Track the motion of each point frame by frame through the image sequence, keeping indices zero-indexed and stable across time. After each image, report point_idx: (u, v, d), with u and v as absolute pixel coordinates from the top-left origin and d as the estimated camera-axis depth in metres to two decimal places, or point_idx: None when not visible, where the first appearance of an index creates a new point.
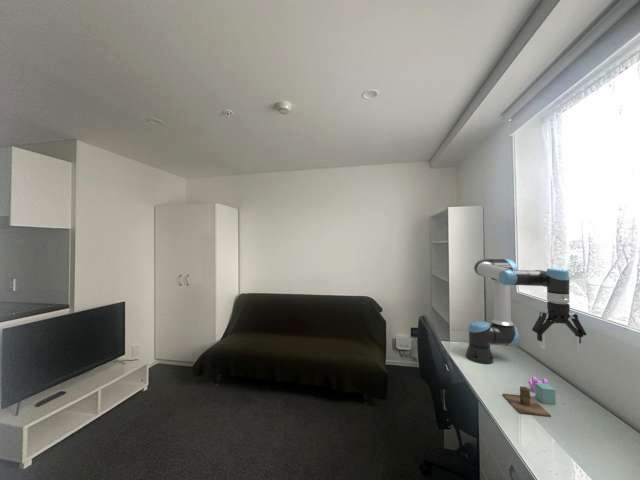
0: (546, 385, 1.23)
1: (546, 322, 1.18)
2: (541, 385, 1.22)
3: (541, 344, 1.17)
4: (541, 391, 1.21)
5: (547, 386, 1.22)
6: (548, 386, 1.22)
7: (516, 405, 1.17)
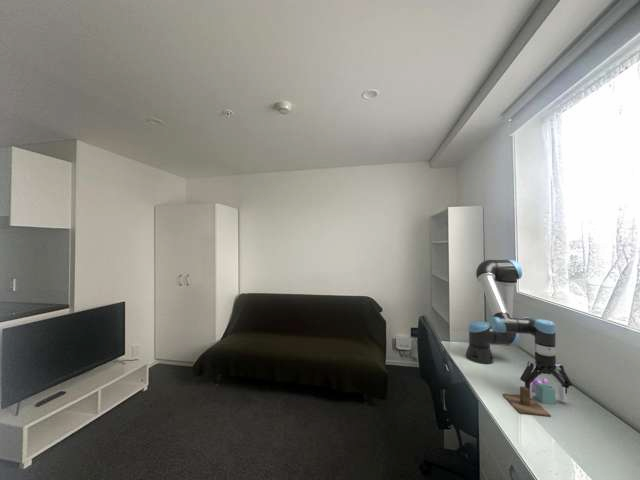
0: (546, 385, 1.23)
1: (534, 372, 1.23)
2: (541, 385, 1.22)
3: None
4: (541, 391, 1.21)
5: (547, 386, 1.22)
6: (548, 386, 1.22)
7: (516, 405, 1.17)
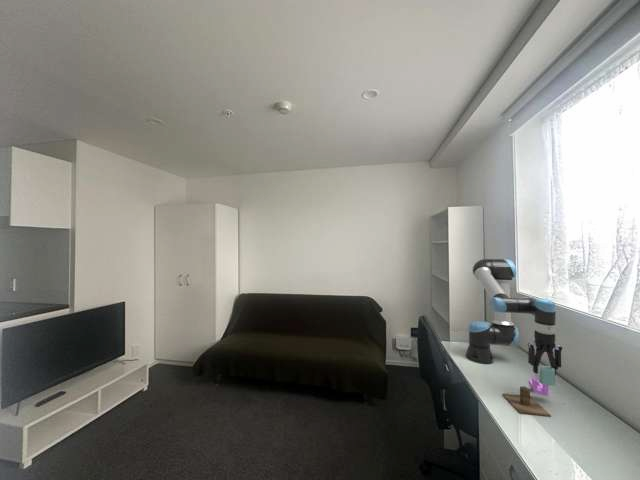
0: (546, 367, 1.23)
1: (537, 353, 1.23)
2: (541, 368, 1.23)
3: (537, 376, 1.23)
4: (541, 373, 1.21)
5: (547, 368, 1.22)
6: (548, 368, 1.22)
7: (516, 405, 1.17)
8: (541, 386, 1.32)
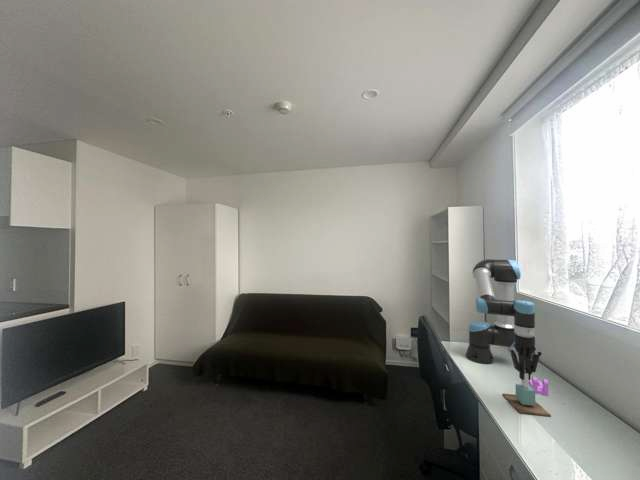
0: None
1: (519, 358, 1.19)
2: (521, 386, 1.18)
3: (523, 382, 1.18)
4: (521, 392, 1.17)
5: None
6: None
7: (516, 405, 1.17)
8: (541, 386, 1.31)
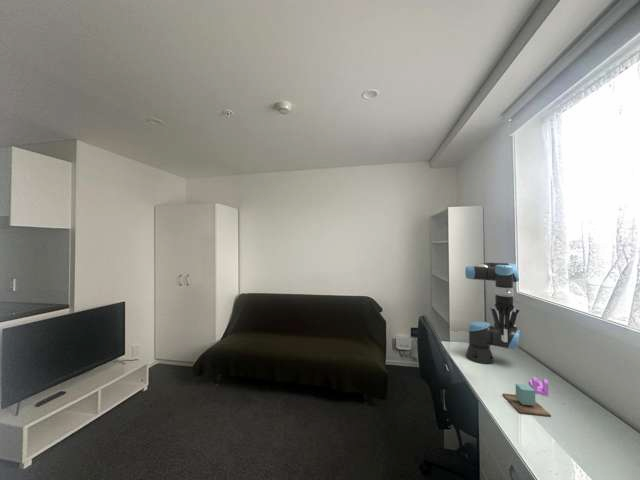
0: (526, 386, 1.19)
1: (500, 316, 1.33)
2: (521, 386, 1.18)
3: (503, 337, 1.32)
4: (521, 392, 1.17)
5: (527, 387, 1.18)
6: (528, 387, 1.18)
7: (516, 405, 1.17)
8: (541, 387, 1.31)
